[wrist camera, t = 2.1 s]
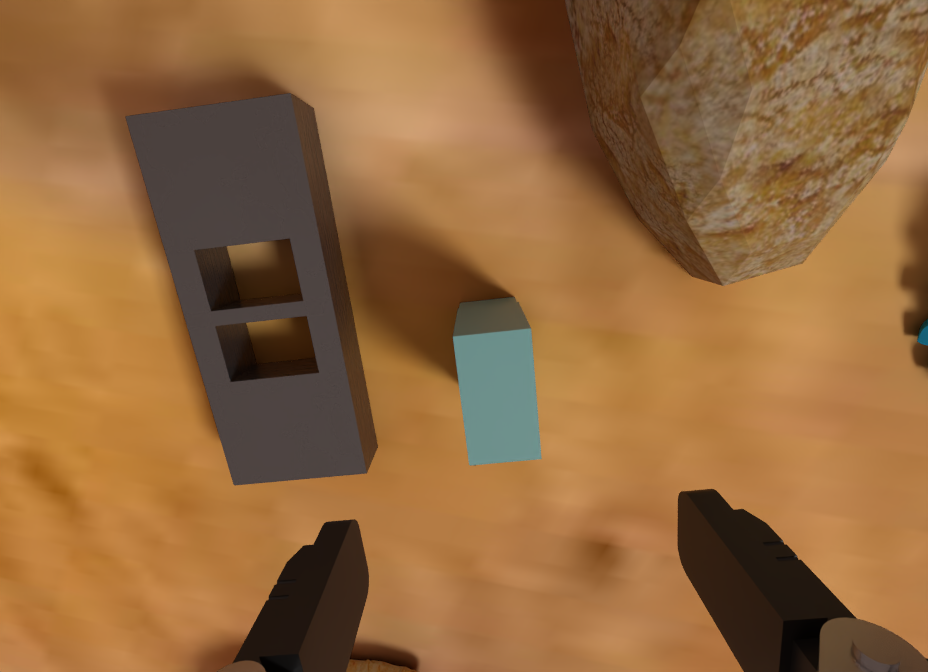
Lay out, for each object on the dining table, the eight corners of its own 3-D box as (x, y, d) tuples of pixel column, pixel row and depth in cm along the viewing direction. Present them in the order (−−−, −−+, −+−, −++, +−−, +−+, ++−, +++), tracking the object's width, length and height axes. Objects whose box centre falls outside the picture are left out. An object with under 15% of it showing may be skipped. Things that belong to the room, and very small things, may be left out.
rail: (167, 128, 24) (125, 116, 21) (313, 108, 23) (290, 93, 20) (258, 458, 29) (233, 485, 26) (377, 446, 28) (366, 473, 26)
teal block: (459, 299, 26) (452, 336, 18) (514, 293, 26) (530, 328, 18) (470, 394, 27) (469, 465, 20) (522, 389, 27) (541, 458, 19)
